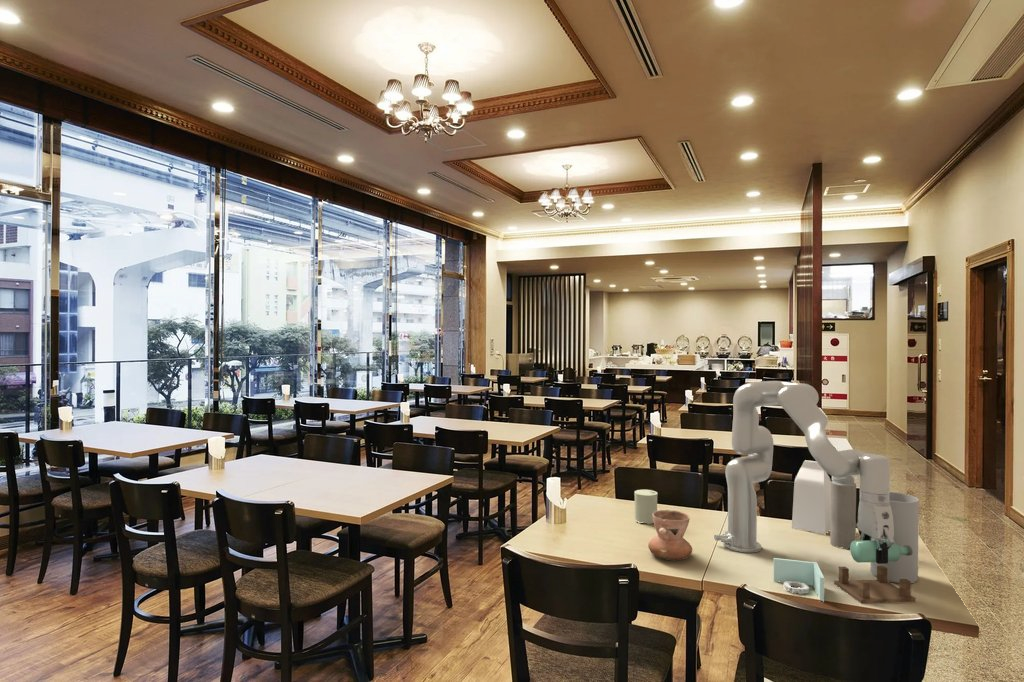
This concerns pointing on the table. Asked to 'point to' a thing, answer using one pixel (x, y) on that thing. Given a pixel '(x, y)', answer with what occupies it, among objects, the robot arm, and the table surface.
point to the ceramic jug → (670, 535)
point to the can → (645, 505)
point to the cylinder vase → (903, 538)
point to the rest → (875, 588)
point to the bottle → (867, 551)
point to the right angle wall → (799, 576)
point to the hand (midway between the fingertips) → (874, 558)
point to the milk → (812, 499)
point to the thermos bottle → (843, 511)
